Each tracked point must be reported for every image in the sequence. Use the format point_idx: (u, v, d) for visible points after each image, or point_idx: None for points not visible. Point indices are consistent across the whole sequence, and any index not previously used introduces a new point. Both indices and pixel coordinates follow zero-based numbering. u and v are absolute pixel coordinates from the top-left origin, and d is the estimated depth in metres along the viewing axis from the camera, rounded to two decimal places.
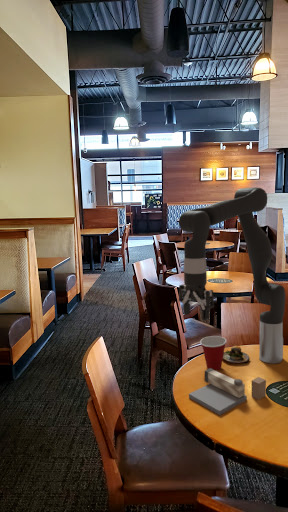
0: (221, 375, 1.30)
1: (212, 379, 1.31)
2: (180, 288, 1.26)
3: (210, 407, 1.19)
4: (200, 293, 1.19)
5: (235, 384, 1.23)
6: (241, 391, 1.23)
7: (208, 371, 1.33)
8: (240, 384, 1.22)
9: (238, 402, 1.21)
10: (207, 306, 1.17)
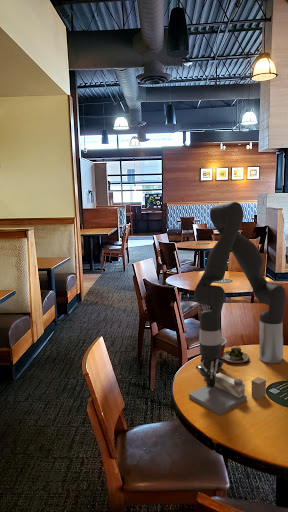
0: (221, 375, 1.30)
1: None
2: (203, 370, 1.24)
3: (210, 407, 1.19)
4: (218, 361, 1.28)
5: (235, 384, 1.23)
6: (241, 391, 1.23)
7: None
8: (240, 384, 1.22)
9: (238, 402, 1.21)
10: (218, 371, 1.29)
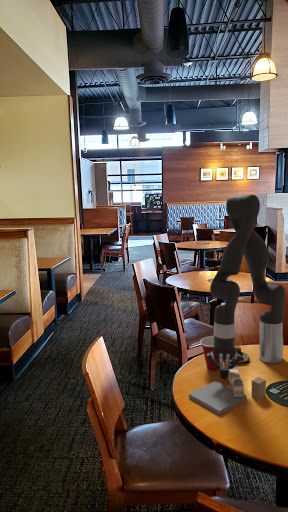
0: (235, 373, 1.31)
1: (229, 375, 1.34)
2: (210, 358, 1.32)
3: (210, 407, 1.19)
4: (232, 357, 1.31)
5: (234, 383, 1.24)
6: (238, 392, 1.23)
7: None
8: (237, 384, 1.22)
9: (238, 402, 1.21)
10: (231, 367, 1.31)
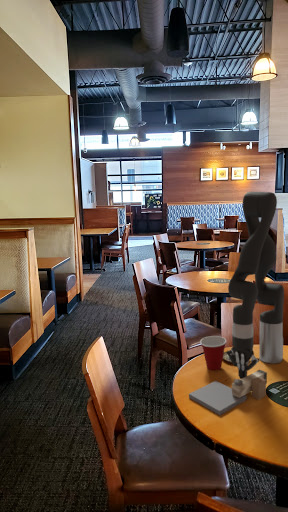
0: (253, 377, 1.28)
1: None
2: (229, 354, 1.35)
3: (210, 407, 1.19)
4: (247, 359, 1.29)
5: None
6: (235, 391, 1.23)
7: (258, 371, 1.32)
8: (234, 383, 1.23)
9: (238, 402, 1.21)
10: (247, 368, 1.30)
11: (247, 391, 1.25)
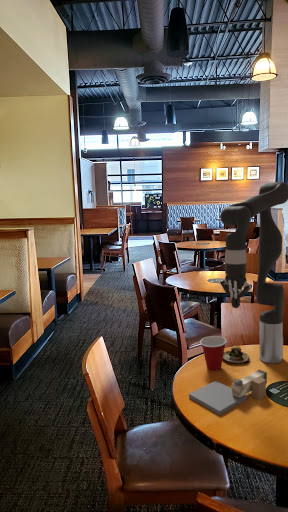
0: (253, 377, 1.28)
1: None
2: (222, 284, 1.35)
3: (210, 407, 1.19)
4: (240, 286, 1.29)
5: None
6: (235, 391, 1.23)
7: (258, 371, 1.32)
8: (234, 383, 1.23)
9: (238, 402, 1.21)
10: (239, 295, 1.30)
11: (247, 391, 1.25)
